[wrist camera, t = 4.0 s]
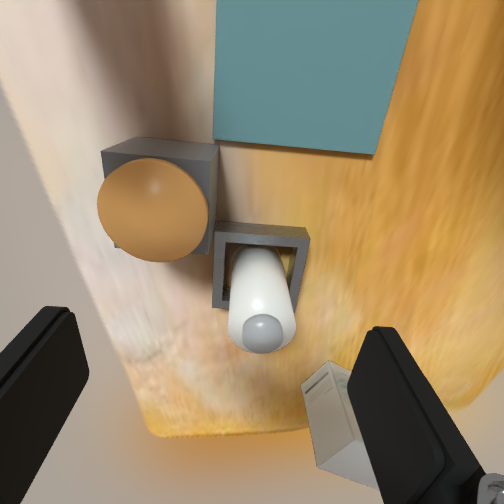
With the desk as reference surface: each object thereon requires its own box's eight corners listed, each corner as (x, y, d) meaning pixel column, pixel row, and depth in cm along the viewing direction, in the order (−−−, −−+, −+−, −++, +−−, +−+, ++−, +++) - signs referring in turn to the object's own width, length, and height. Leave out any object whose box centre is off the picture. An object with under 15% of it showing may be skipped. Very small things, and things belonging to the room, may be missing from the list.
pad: (422, -27, 20) (426, -30, 20) (371, 153, 26) (374, 154, 25) (218, -55, 19) (218, -60, 19) (213, 137, 25) (212, 138, 24)
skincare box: (385, 385, 41) (425, 470, 32) (353, 409, 44) (382, 494, 34) (329, 357, 38) (356, 441, 29) (298, 385, 41) (314, 470, 32)
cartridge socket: (305, 227, 29) (310, 238, 27) (291, 298, 33) (294, 312, 31) (217, 220, 29) (214, 231, 26) (214, 293, 33) (212, 307, 31)
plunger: (215, 152, 22) (207, 166, 18) (212, 235, 25) (205, 265, 21) (120, 143, 22) (88, 155, 17) (130, 229, 25) (105, 258, 21)
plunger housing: (219, 144, 25) (210, 161, 19) (216, 219, 29) (208, 254, 22) (136, 136, 25) (100, 151, 19) (143, 213, 28) (114, 247, 22)
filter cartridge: (284, 242, 30) (304, 313, 20) (277, 284, 32) (292, 365, 23) (234, 238, 30) (229, 308, 20) (231, 280, 32) (225, 362, 22)
